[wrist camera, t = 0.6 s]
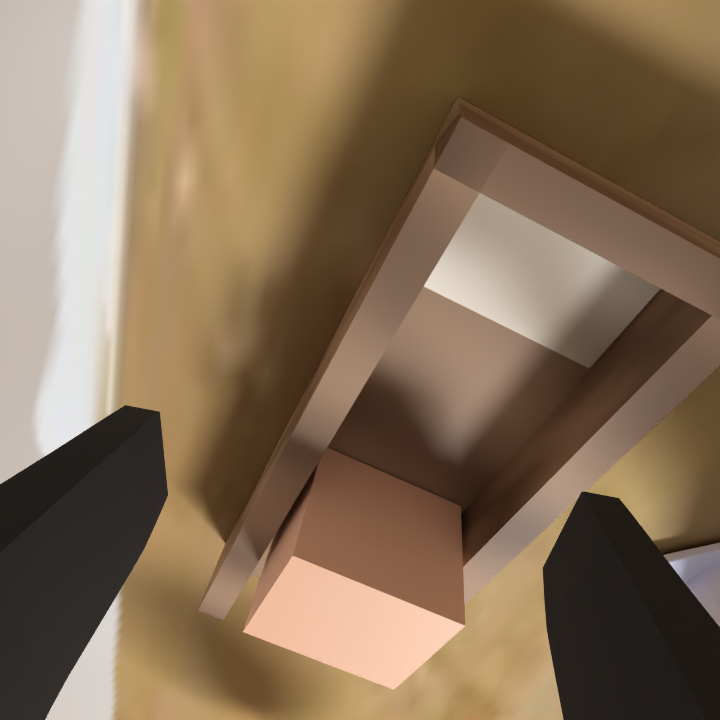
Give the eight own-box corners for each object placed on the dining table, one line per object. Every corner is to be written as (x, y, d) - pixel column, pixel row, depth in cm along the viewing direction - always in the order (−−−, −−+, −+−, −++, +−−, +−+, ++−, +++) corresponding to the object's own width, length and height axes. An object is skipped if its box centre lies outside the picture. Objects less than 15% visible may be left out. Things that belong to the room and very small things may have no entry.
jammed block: (402, 572, 24) (393, 689, 20) (278, 520, 23) (242, 632, 19) (460, 506, 21) (465, 625, 17) (323, 445, 21) (292, 555, 16)
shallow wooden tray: (389, 610, 28) (383, 681, 25) (225, 544, 26) (198, 610, 23) (726, 245, 16) (792, 297, 13) (457, 96, 15) (461, 117, 12)
